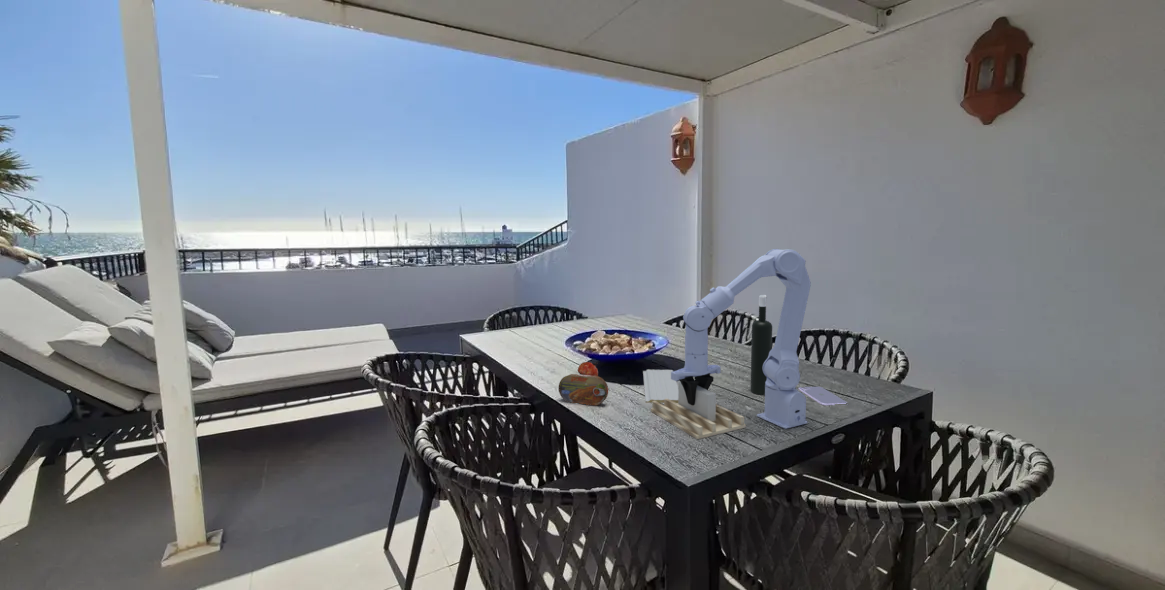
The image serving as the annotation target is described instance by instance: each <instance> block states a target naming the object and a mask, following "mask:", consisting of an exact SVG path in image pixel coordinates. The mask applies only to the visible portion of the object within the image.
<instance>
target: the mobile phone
mask: <svg viewBox="0 0 1165 590" xmlns="http://www.w3.org/2000/svg"><path fill="white" fill-rule="evenodd" d="M797 390H798V391H799V392H801V393H802V394H804V395H806V396H808V397H810V398H811V399H812V400H814V401H815V402H817V403H818V404H820V405H823V406H836V405H835V404H846V403H848V402H847V401H846V400H844V399H842V398H841V397H839V396H837V395H836V394H834V393H832V392H831V391H829V390H827V389H825V388H824V387H822V386H800V387H798V388H797Z"/></svg>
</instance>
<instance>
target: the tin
mask: <svg viewBox="0 0 1165 590" xmlns="http://www.w3.org/2000/svg"><path fill="white" fill-rule="evenodd" d="M558 393H559V395H560V397H561V399H563V401H565V402H567V403H568V402H571V403H570V404H574V403H579V404H578V405H584V404H586V405H585V406H593V407H594V406H599V405H602V404H603V403H604V401H606V399H607V398H608V395H609V386H608V383H607V382H606V380H604V378H603V377H600V376H599V375H598V376H590V375H580V374H579V373H578V374H576V373H570V374H568V375H565V376H563V377H562V378H561V379H560V381H559V383H558Z"/></svg>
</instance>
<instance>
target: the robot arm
mask: <svg viewBox="0 0 1165 590" xmlns="http://www.w3.org/2000/svg"><path fill="white" fill-rule="evenodd" d="M806 262H807V261H806V259H805V258H804V257H803V256H802V255H801V254H800V253H799V252H798V251H797V250H795V249H791V248H790V249H789V248H788V249H781V248H773V249H770V250H769V251H767V252H766V253H765V254H763V255H761V256H760V257H758V258H757V259H756V260H755V261H754V262H753V263H751V264H750V265H749V266H747V268H746V269H744V270H743V271H742V272H741V273H739V274H738V276H736V277H735V278H734V279H733V280H732V281H730V283H728V284H727V285H726V286H721V285H718V286H716V288H715V287H711V288H710V289H709V293H708V294H706V295H705V296H704V297H703V298H701V300H696V301H695V303H694V304H695V305H691V306H689V307H688V308H686V309H685V311H684V315H682V319H683V321H684V323H685V335H684V336H685V337H684V366H683V368H679V369H677V370H673V372H671V379H672V380H674V381H676V382H681V384H682V386H683V388H684V391H685V394H686V397H687V402H688V404H690V405H695V396H696V388H697V386H700V387H702V388H704V389H707V390H709V389H710V387H711V385H712V383H713V382H714V376H712V374H721V369H722V368H721V366H720V365H718V364H710V365H709V364H708V363H709V358H708V357H709V352H708V351H709V349H708V348H709V335H708V333H709V332H708V328H709V327H710V325H711V323H712V320H714V319H716V317H718V316H719V315H720V314H722V313H723V312H724V311H726V310H728V308H729V307H731V306H732V305H733V304H734V302H735V297H736V296H737V295H739V294H740V293H741V292H743V291H744V290H745V289H747V288H748V287H749V286H751V285H752V284H754V283H755V282H757V281H758V280H760V279H761V278H765V277H774V276H775V277H776V278H778V279H779V281H780V282H781V283H782V284H783V285H784V286H785V293H784V298H783V304H782V307H781V310H780V311H781V312H780V317H779V322H778V326H777V327H778V328H777V331H776V336H775V341H774V345H773V346H772V349H771V350H770V352H769V356H768V358H767V359H766V361H765V362H764V364H763V373H764V374H765V376H766V377H767V380H766V382H765V395H764V411H763V412H762V413H757V414H756V417H757V418H760V419H762V420H765V421H767V422H769V423H770V424H771V423H772V424H773V425H776V426H778V427H780V428H782V429H785V430H786V429H787V430H788V429H790V428H795V427H799V426H801V425H802V426H803V425H806V424H808V421H807V420H806V415H807V413H806V412H807V411H806V410H807V409H806V408H807V399H806V396H805V393H803V392H801V391H800V390H799V389H798V388H797V386H798V385H799V384H800V380H801V374H800V371H799V368H800V360H799V357H798V353H797V350H798V346H799V341H800V336H801V331H802V327H803V322H804V317H805V312H806V309H807V304H808V303H807V302H808V299H809V295H810V290H811V279H810V276H809V273H808V271H807V267H806Z"/></svg>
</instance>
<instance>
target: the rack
mask: <svg viewBox="0 0 1165 590" xmlns="http://www.w3.org/2000/svg"><path fill="white" fill-rule="evenodd" d="M651 404H652V405H651V406H652V407H651V408H650V412H651V413H653V414H654V415H656V416H658V417H660V419H662V420H664V421H666V422H668V423H669V424H671V425H672V426H675V427H676V428H678V429H679V430H681V431H683V432H684V433H686V434H687V435H690V436H691V437H693V438H694V439H696V440H700V439H701V440H702V439H705V438H710V437H712V436H716V435H721V434H724V433H729V432H732V431H733V432H734V431H737V430H742V429H745V428H746V427H747V425H746V423H745V416H743V415H741V414H739V413H736V412H734V411H732V410H730V409H728V408H726V407H724V406H722V405H720V404H717V403H716V420H715V421H710V420H708V419H706V418H704V417H702V416H700V415H698V414H696V413H694V412H692V411H691V410H689V409H687V408H685V407H683V406H681V405H679V404H678V403H675V402H673V401H671V400H669V399H664V404H663V403H658V402H657V401H652V403H651Z"/></svg>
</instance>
